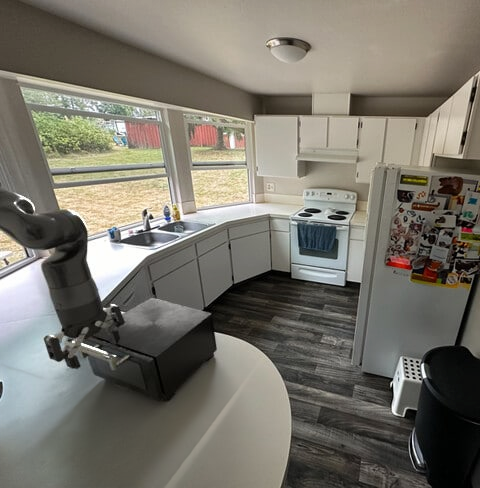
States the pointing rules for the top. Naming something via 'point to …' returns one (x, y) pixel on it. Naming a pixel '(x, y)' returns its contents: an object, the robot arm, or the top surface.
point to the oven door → (122, 367)
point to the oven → (167, 339)
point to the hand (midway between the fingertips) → (96, 354)
